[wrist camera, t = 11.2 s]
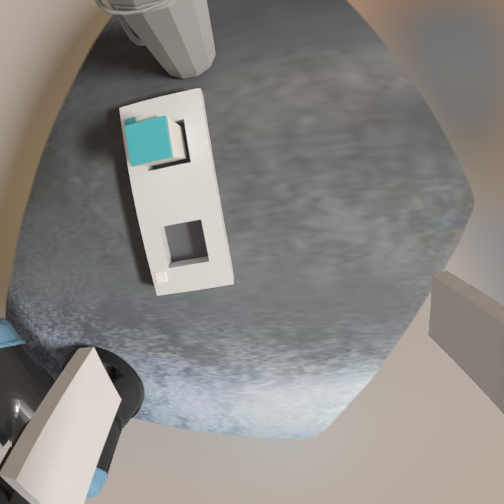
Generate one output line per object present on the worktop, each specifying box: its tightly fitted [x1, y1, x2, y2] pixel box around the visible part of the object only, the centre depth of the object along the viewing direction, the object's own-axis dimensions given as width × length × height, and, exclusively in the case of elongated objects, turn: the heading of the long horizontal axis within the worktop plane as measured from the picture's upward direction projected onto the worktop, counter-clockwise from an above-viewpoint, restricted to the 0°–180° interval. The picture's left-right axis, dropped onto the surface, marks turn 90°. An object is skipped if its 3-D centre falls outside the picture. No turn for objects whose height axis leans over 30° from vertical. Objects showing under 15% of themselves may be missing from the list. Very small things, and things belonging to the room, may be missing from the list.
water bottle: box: [96, 0, 216, 79], centre depth 21 cm, size 9×8×25 cm
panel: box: [119, 88, 234, 296], centre depth 36 cm, size 10×24×3 cm, turn 9°
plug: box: [125, 114, 188, 167], centre depth 30 cm, size 4×5×10 cm
